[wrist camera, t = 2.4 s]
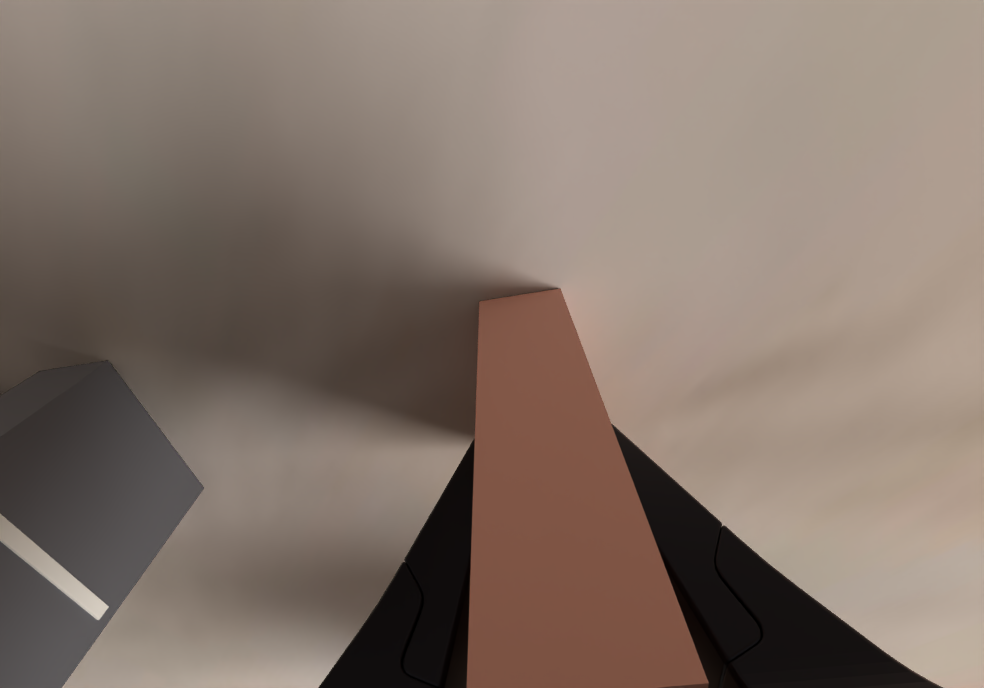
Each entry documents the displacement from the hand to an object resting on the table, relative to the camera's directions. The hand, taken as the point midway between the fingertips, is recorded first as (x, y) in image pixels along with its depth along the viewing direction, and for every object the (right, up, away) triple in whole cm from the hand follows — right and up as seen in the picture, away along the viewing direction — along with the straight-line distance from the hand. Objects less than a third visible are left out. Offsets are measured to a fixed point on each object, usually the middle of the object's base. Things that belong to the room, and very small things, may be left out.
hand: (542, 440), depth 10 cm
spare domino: (0, +1, +2) cm, 2 cm away
